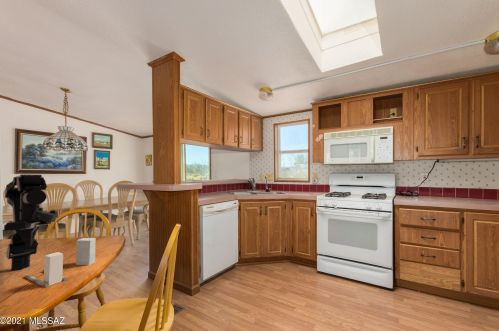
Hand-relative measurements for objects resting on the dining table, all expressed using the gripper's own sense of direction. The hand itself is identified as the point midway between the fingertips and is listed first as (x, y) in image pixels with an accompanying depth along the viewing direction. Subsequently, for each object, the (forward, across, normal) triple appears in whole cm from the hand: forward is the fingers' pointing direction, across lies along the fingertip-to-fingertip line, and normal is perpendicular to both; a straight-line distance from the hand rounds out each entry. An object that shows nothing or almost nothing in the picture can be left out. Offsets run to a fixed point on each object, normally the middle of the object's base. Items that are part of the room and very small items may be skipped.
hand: (29, 246), depth 91 cm
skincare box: (+13, +11, -15) cm, 23 cm away
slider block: (+13, -7, -11) cm, 19 cm away
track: (+14, -3, -7) cm, 16 cm away
